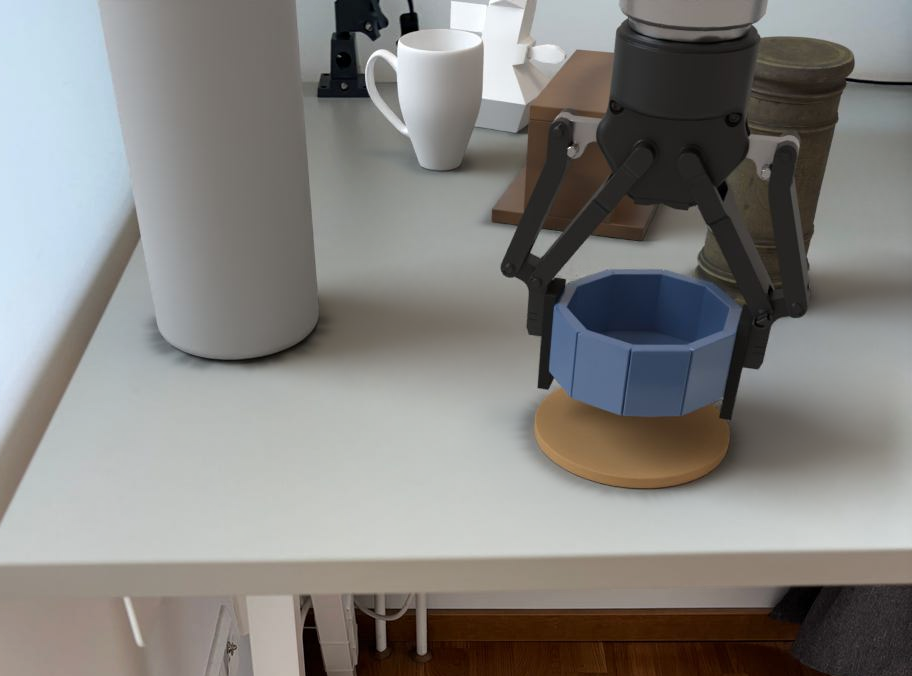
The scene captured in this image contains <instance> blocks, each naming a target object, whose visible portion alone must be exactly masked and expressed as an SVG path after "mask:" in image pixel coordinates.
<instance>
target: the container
mask: <svg viewBox="0 0 912 676" xmlns="http://www.w3.org/2000/svg"><path fill="white" fill-rule="evenodd" d="M855 65H856V60H855V54H854V52H853V51H852V50H851V49H850V48H849V47H847V46H845V45H843V44H840V43H837V42H834V41H830V40H826V39H822V38H821V39H820V38H813V37H807V36H789V35H788V36H787V35H785V36H781V35H779V36H776V35H775V36H763V37H761V40H760V46H759V51H758V56H757V62H756V67H755V73H754V78H753V84H752V89H751V94H750V100H749V105H748V111H747V122H748V126H749V129H750V132H751V134H754V135H764V136H775V137H780V136H781V135H782V134H783V133H785V132H787V131H794V132H796V133H797V134H798V135H799V136H800V139H801V140H800V148H799V152H798V157H797V162H796V166H795V171H794V179H795V186H796V193H797V200H798V206H799V213H800V220H801V227H802V234H803V241H804V248H805V255H806V261H807V268H808V272H809V271H810V262H809V259H808V253H809V249H810V246H811V240H812V238H813V236H814V233H815V223H814V222H815V218H816V213H817V209H818V205H819V199H820V196H821V195H820V194H821V189H822V185H823V181H824V177H825V173H826V169H827V165H828V161H829V157H830V156H829V155H830V151H831V147H832V143H833V140H834V135H835V130H836V125H837V124H838V122H839V120H840V118H839V108H840V104H841V98H842V95H843V93H844V90H845V89H846V88H847V85H848V84H847V79H846V78H848V77H850V76H851V74H852V73H853V71H854V70H855ZM727 180H728V182H729V184H730V187H731V189H732V191H733V194H734V199H735V203H736V205H737V207H738V210H739V212H740V214H741V216H742V218H743V221H744V223H745V225H746V227H747V229H748V231H749V234H750V236H751V238H752V240H753V242H754V245H755V247H756V249H757V251H758V253H759V256H760V258H761V260H762V262H763V264H764V267H765V269H766V271H767V273H768V275H769V278H770V280H771V282H772V284H773V286H774V289H775V290H776V289H781V288H783V287H782V281H781V275H780V269H779V263H778V256H777V250H776V244H775V238H774V231H773V225H772V219H771V213H770V206H769V198H768V186H769V181H765V180H762V179H761V178H759V176H758V174H757V169H756V164H755V163H754V161H753V160H751V159H748V158H745V160H744V161H743V162H742V163H741V164H740V165H739V166H738V167H737V168H736V169H735V170H734V171H733V172H732V173H731V174H730V175H729V176H728V177H727ZM706 226H707V227H706V228H707V229H706V235H705V240H704V245H703V246H702V248H701V250H699V252H698V254H697V258H696V261H697V265H696V266H695V268H694V270H693V273H692V277H693V278H697V279H700V280H704V281H707V282H711V283H713V284H715V285H716V286H718V287H719V288H720V289H721V290H722V291H723V292H725V293H726V294H727V295H728V296H729V297H730V298H732V299H733V300H734V301H735V302H736V303H738V304H739V305H740V306H741V307H742V308H743V304H746V302H745V300H744V298H743V296H742V293H741V291H740V289H739V287H738V285H737V283H736V281H735V279H734V276H733V274H732V272H731V270H730V268H729V266H728V264H727V262H726V260H725V257H724V255H723V253H722V251H721V249H720V247H719V245H718V243H717V240H716V238H715V236H714V234H713V232H712V230H711V228H710V227H709V226H708V225H707V224H706Z"/></svg>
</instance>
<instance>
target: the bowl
mask: <svg viewBox="0 0 912 676" xmlns="http://www.w3.org/2000/svg"><path fill="white" fill-rule="evenodd" d="M741 312H742V307H741V306H740V305H739V304H738V303H736V302H735V301H734V300H733V299H732V298H730V297H729V296H728V295H727V294H726V293H725V292H723V291H722V290H721V289H720V288H719V287H718V286H716V285H715V284H713V283H711V282H707V281H704V280H700V279H697V278H693V276H689V275H685V274H683V273H678V272H676V271H673V270H672V271H671V270H669V269H662V268H631V269H630V268H610V269H605V270H602V271H598V272H596V273H592V274H590V275H587V276H584V277H581V278H578V279H575V280H572V281H568V282H567V283H566V285H565V288H564V290H563V292H562V293H561V295H560V297H559V299H558V301H557V302H556V304H555V306H554V313H553V325H552V337H551V349H550V362H549V372H550V373H551V374H552V376H553V377H554V380H555V381H556V382H557V383H558V384H559V386H560V388H561V387H562V388H563V389H564V391H565V392H566V393H567V394H568V396H569V397H572V399H575V400H578V401H581V402H583V403H586V404H589V405H592V406H594V407H597V408H600V409H603V410H606V411H609V412H612V413H615V414H617V415H622V414H623V416H640V417H659V416H680V415H681V416H683V415H685V414H688V413H690V412H692V411H695V410H697V409H699V408H702V407H704V406H706V405H709V404H711V403H712V404H714V403H716V402H718V401H720V400H723V396H724V392H725V387H726V382H727V377H728V373H729V368H730V363H731V358H732V353H733V348H734V343H735V339H736V334H737V327H738V323H739V319H740V315H741Z"/></svg>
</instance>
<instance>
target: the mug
mask: <svg viewBox="0 0 912 676" xmlns="http://www.w3.org/2000/svg"><path fill="white" fill-rule="evenodd" d="M396 52H397V56H396V55H395V54H394V53H392V52H391V51H389V50H387V49H377V50H376V51H374V52H373V53H372V54H371V55H370V57H368V60H367V63H366V64H365V65H366V66H365V70H364V71H365V72H364V76H365V77H364V79H365V86H366V90H367V93H368V96H369V97H370V99H371V101H372V102H373V104H374V105H375V107H376V108H377V109H378V110H379V111H380V112H381V114H382V115H383V116H384V117H385V118H386V119H387V121H388V122H389V123H391V124H392V126H393V127H394V128H395V129H396V130H397V131H399V133H401V134H402V135H404V136H405V137H407V138H408V139H410V141H411V144H412V147H413V149H414V153H415V155H416V158H417V162H418V163H419V165H420V166H421V167H422V168H424V169H427V170H432V171H450V170H454V169H457V168H458V167H460V166H461V164H462V162H463V159H464V157H465V153H466V151H467V149H468V146H469V143H470V140H471V137H472V134H473V132H474V130H475V127H476V126H475V124H476V121H477V117H478V114H479V111H480V106H481V101H482V92H483V64H484V44H483V40H482V39H481V36H479V35H478V34H476V33H473V32H471V31H466V30H458V29H451V28H449V29H448V28H432V29H430V28H429V29H421V30H417V31H412V32H408V33H406V34H403V35H402V36H401V37H399V39H398V42H397V51H396ZM378 58H382V59H384V60H385V61H386V62H387V63H388V64H390V66H391V67H392V69H393V70H394V72H395V73H396V85H397V86H396V87H397V95H398V102H399V107H400V111H401V115H402V118H403V122H402V120H401V119H400V118H399V117H398V115H396V114H395V113H394V112H393V110H392V109H391V108H390V107H389V106H388V104H386V103H385V101H384V100H383V98H382V97H381V95H380V93H379V92H378V89H377V86H376V82H375V76H374V75H375V73H374V69H375V68H374V67H375V63H376V61H377V59H378Z"/></svg>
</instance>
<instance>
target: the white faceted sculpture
mask: <svg viewBox="0 0 912 676" xmlns="http://www.w3.org/2000/svg"><path fill="white" fill-rule="evenodd" d="M537 3H538V0H489V2H488V3H487V4H488V5H487V4H481V3H473V2H464V1H457V0H450V21H449V22H450V27H449V29H451V30H460V31H466V32H474V33H481V36H480V38H481V39H482V40H483V44H484V64H483V92H482V101H481V106H480V111H479V114H478V117H477V121H476V124H475V126H474V127H476V128H483V129H487V130H494V131H501V132H506V133H507V132H508V133H515V134H517V133H519V132H520V131H521V130H522V129H524V128H525V127H526V126H527V125H529V110H530V104H531V103H532V102H533V101H534V100H535V98H536V97H537V96H538V95H539V94H540V92H541V91H542V90H543V89H544V88H545V86H546V85H547V84H548V83H549V82H550V81H551V79H549V78H548V76H546V75H545V74H544V73H543V72H542V71H541V70H540V69H539V68H538V67H536V66H535V65H534V63H532V62H531V61H530V60H531V59H533V60H535V61H537V62H540V63H544V64H545V63H546V64H554V65H556V64H558V63H560V62H562V61H564V60H565V59H567V55H568V53H567V52H566V51H564V50H563V49H562V48H561V47H560V46H558V45H557V44H549V43H547V44H541V45H536V43H537V39H535V38H534V37H532V36H531V32H532V28H533V23H534V19H535V14H536V11H537V10H536V9H537Z"/></svg>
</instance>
